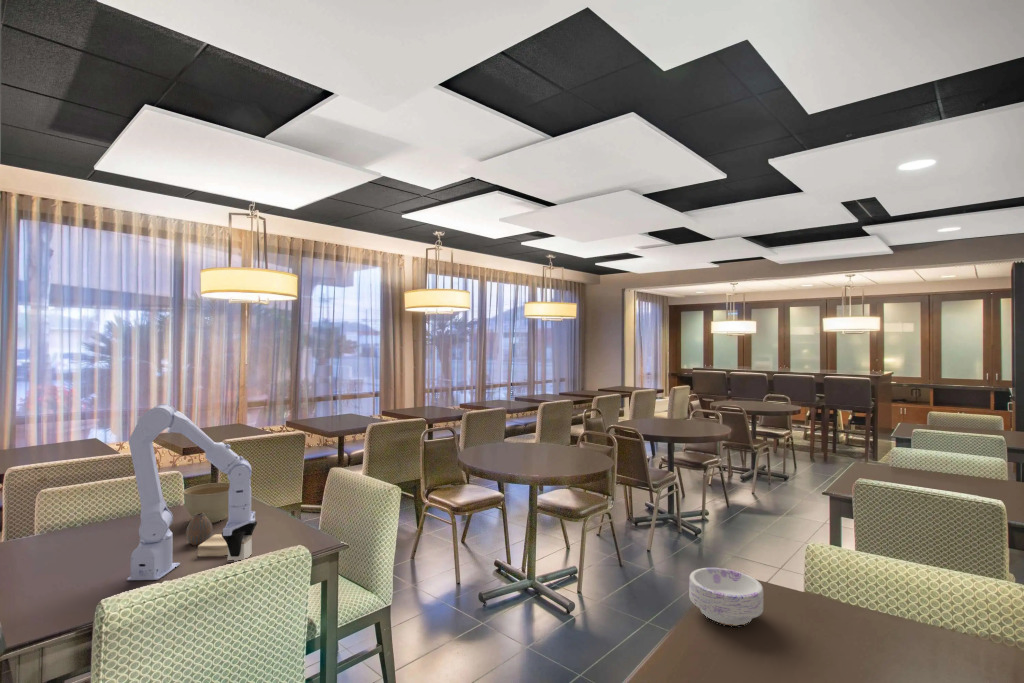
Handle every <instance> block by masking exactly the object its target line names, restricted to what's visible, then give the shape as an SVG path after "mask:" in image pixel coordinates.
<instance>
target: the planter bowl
mask: <svg viewBox="0 0 1024 683" xmlns="http://www.w3.org/2000/svg"><path fill="white" fill-rule="evenodd" d="M229 488H230V482H213V483H212V482H211V483H203V484H198V485H195V486H191V487H189V488H185V489H184V490H183V496H184V497H183V498H184V500H183V501H184V506H185V508H186V510H187V512H188V514H189V515H190V516H191V517H192V519H193V518H194V516H195V514H197V513H204V514H205V516H206V517H207V518H208V519H209V520H210V521H211V523H212V524H214V523H217V522H221V521H223V520H225V519H226V518H227V514H228V510H229V509H228V506H229ZM220 520H221V521H220Z"/></svg>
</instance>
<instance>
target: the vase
mask: <svg viewBox="0 0 1024 683" xmlns="http://www.w3.org/2000/svg"><path fill="white" fill-rule="evenodd" d="M185 536H186V537H185V538H186V540H187V542H189V544H191V545H192V546H199V545H200V544H202V543H203V542H205V541H206V540H208V539H209V538H211V537H212V536H213V523H211V521H210V520H209V519H208V518H207V517H206V516H205V514H204V513H197V514H195V516H194V518H193V517H192V519H191V520H190V522H189V523H188V524H187V528H186V532H185Z"/></svg>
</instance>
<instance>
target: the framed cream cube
mask: <svg viewBox="0 0 1024 683" xmlns="http://www.w3.org/2000/svg"><path fill="white" fill-rule="evenodd" d="M252 538H253V534H252V535H244V536H243V539H242V542H241V550H240V555H239V556H238V557H231V555H230V552H229V548H228V556H227V561H228V560H232V559H233V560H234V561H233V562H239V561H238V560H242V559H245V558H247V559H249V557H251V556H250V555H251V554H253V551H252V547H253V545H252V543H253V542H252V540H253V539H252Z"/></svg>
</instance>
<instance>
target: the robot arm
mask: <svg viewBox="0 0 1024 683" xmlns="http://www.w3.org/2000/svg"><path fill="white" fill-rule="evenodd" d="M168 428H169V430H168V431H167V432H168V433H175V434H182V435H183V436H184V437H186V438H187V439H188V440H190V441H191V442H192V443H194V444H195V445H196V446H197V447H199V449H201V450H203V451H204V453H205V456H204V457H205V459H206V460H207V461H208V462H210V463H211V464H212V465H213V466H214V467H215V468H217V469H218V470H219V471H220V472H222V474H223V473H224V474H226V476H227V479H228V482H229V483H230V488H229V506H228V509H229V510H228V513H227V514H228V520H227V522H226V524H225V526H224V527H223V528H222V532H221V534H222V537H223V538H224V540H225V541H226V543H227V545H228V548H229V552H230V555H231V557H238V556H239V555H240V550H241V542H242V539H243V536H244V535H253V533H254V530H255V528H256V526H257V524H258V521H257V520H256V511H255V510H254V511H253V510H252V486H251V484H252V479H251V478H252V471H253V470H252V465H251V463H250V462H249V461H248V459H245V458H244V457H243V456H242V455H240V456H239V455H238V454H237V453H236V452H235V451H233V450H232V449H231V447H232V445H230V444H229V443H224V441H223V442H222V441H221V442H215V441H214V440H213V439H212V438H211V437H210V436H208V434H206V433H205V432H204V431H203V430H202V429H201V428H200V427H199V426H197V425H196V424H195V423H194V422H193V421H192V420H191V419H190V418H189V417H187V415H185V414H184V413H183V412H181V411H179V410H176V408H175V407H174V406H172V405H171V404H167V403H160V404H158V405H155V406H154V407H152V408H150V409H148V410H147V411H146V412H144V414H142V415H141V416H140V418H138V420H137V424H136V425H135V426H134V429H133V431H132V432H131V435H130V437H129V439H128V447H129V450H130V456H131V461H132V465H133V471H134V476H135V481H136V487H137V491H138V492H137V493H138V496H139V500H140V506H141V507H140V526H139V527H138V535H139V543H138V546H137V547H136V548H135V549H134V550H133V551H132V552H131V555H130V575H129V576H128V577H127V579H126V580H127V581H158V580H160V579H162V578H163V577H164V576H166V575H167V574H168V573H170V572H171V571H173V570H174V569H176V568H177V567H179V566H180V565H181V562H173V556H174V555H173V546H174V545H173V543H174V542H173V537H174V536H173V535H174V534H173V532H172V531H171V529H170V527H171V525H172V524H173V521H174V515H173V513H172V511H170V509H169V508H168V507H167V502H166V500H165V499H164V495H163V491H162V485H161V480H160V474H159V470H158V469H159V468H158V465H157V459H156V454H155V448H154V445H153V444H154V443H153V441H154V440H155V439H157V437H158V436H159V435H160V434H161V432H163V431H165V430H166V429H168ZM175 567H176V568H175Z"/></svg>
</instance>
